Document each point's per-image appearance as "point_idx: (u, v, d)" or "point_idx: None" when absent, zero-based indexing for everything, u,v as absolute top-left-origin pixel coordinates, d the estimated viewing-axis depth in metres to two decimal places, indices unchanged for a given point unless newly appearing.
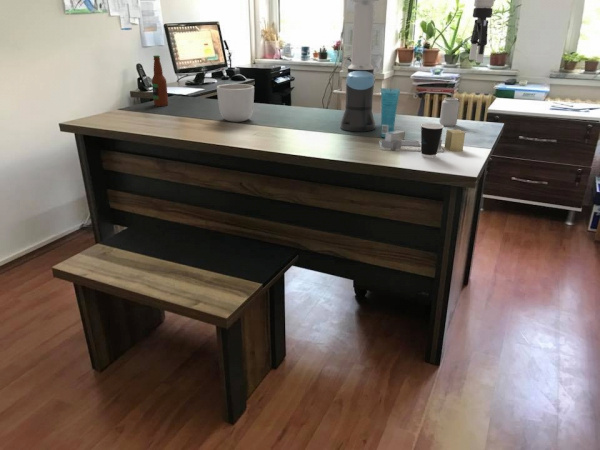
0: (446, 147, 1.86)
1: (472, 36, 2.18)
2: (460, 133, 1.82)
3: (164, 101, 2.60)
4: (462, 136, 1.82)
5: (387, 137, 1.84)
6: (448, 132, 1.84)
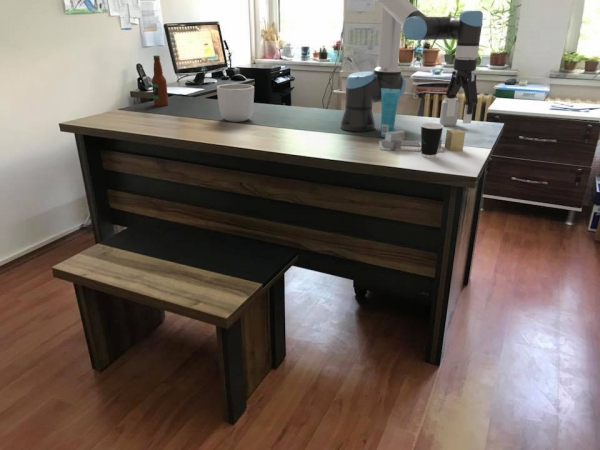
0: (446, 147, 1.86)
1: (449, 89, 1.85)
2: (460, 133, 1.82)
3: (164, 101, 2.60)
4: (462, 136, 1.82)
5: (387, 137, 1.84)
6: (448, 132, 1.84)
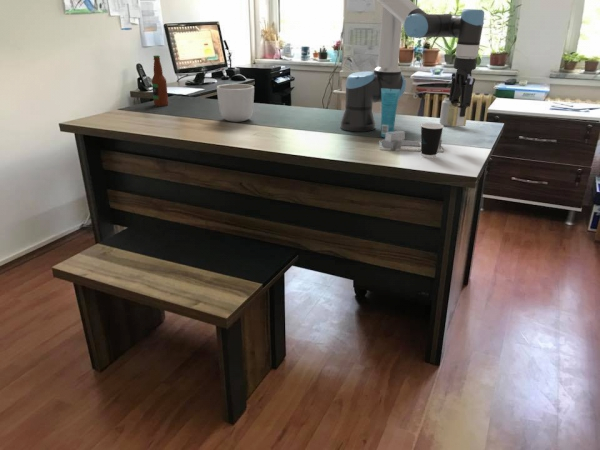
0: (448, 122, 1.83)
1: (451, 93, 1.83)
2: None
3: (164, 101, 2.60)
4: None
5: (387, 137, 1.84)
6: (451, 106, 1.81)
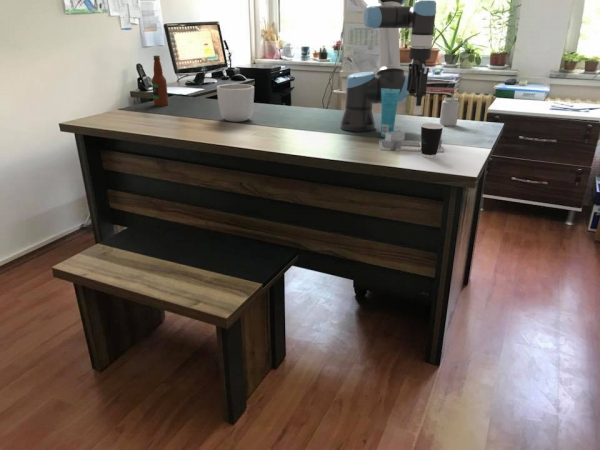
0: (406, 111, 1.87)
1: (409, 83, 1.87)
2: None
3: (164, 101, 2.60)
4: None
5: (387, 137, 1.84)
6: (408, 96, 1.85)
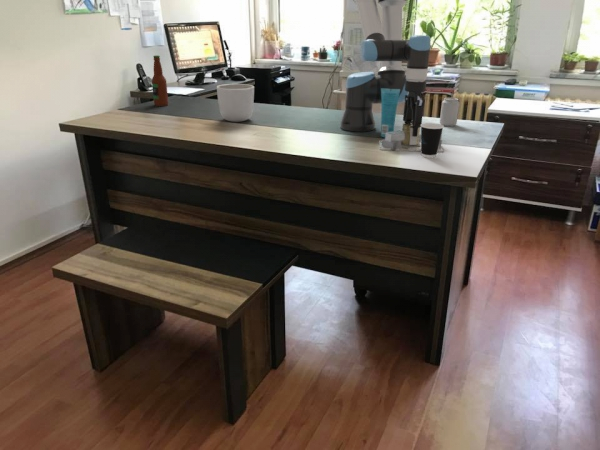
0: (402, 141, 1.91)
1: (405, 114, 1.91)
2: None
3: (164, 101, 2.60)
4: None
5: (387, 137, 1.84)
6: (404, 126, 1.89)
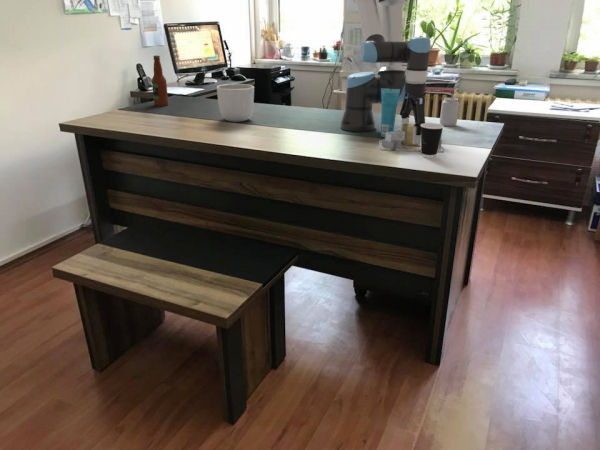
0: (402, 141, 1.91)
1: (402, 110, 1.94)
2: None
3: (164, 101, 2.60)
4: None
5: (387, 137, 1.84)
6: (404, 126, 1.89)
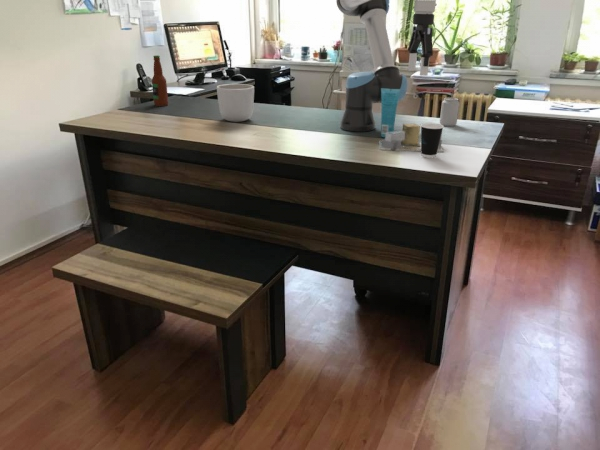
0: (402, 141, 1.91)
1: (410, 44, 1.94)
2: (415, 127, 1.86)
3: (164, 101, 2.60)
4: (417, 130, 1.87)
5: (387, 137, 1.84)
6: (404, 126, 1.89)
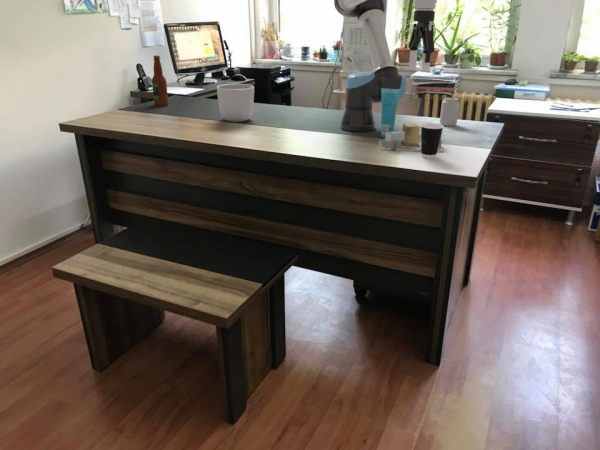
0: (402, 141, 1.91)
1: (411, 42, 1.95)
2: (415, 127, 1.86)
3: (164, 101, 2.60)
4: (417, 130, 1.87)
5: (387, 137, 1.84)
6: (404, 126, 1.89)
